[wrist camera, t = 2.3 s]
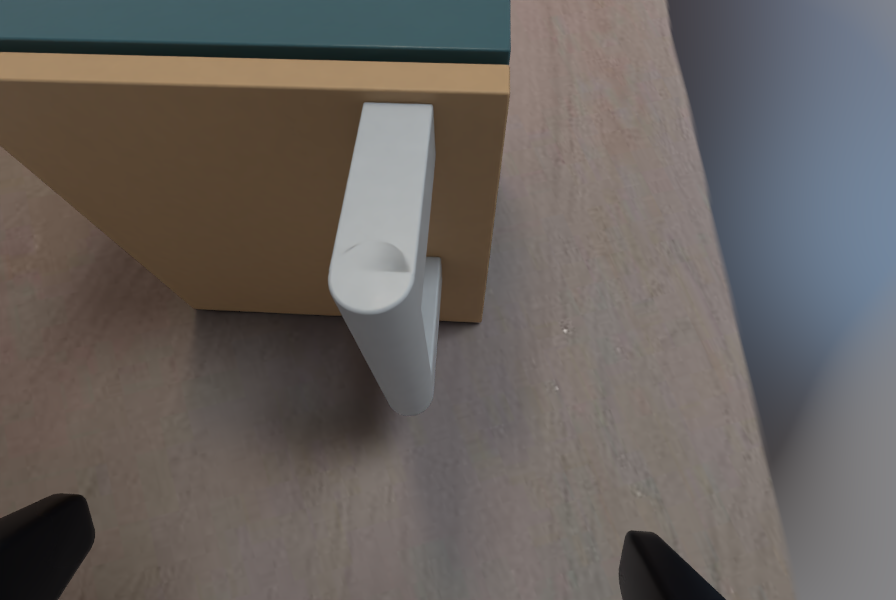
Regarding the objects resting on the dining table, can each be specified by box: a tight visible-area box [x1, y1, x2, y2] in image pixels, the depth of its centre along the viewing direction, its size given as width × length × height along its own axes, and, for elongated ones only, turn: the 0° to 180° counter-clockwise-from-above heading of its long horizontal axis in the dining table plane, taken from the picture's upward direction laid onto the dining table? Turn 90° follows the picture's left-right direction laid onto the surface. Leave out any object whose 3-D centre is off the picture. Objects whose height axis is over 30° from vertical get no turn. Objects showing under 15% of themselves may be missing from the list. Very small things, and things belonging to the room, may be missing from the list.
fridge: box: [0, 0, 511, 65], centre depth 18 cm, size 10×14×13 cm
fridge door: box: [0, 52, 510, 416], centre depth 15 cm, size 6×14×12 cm, turn 87°
